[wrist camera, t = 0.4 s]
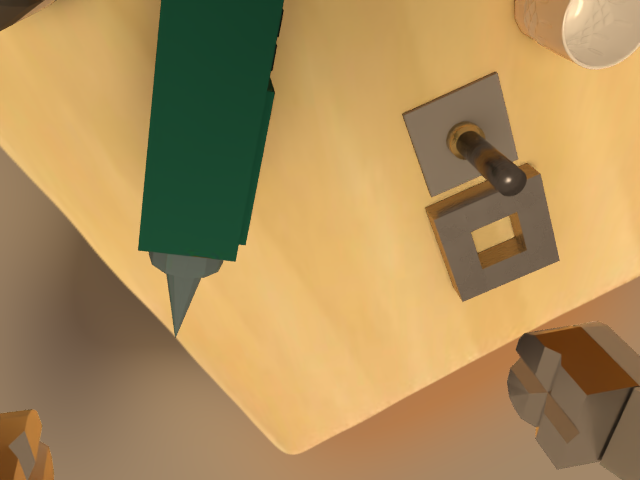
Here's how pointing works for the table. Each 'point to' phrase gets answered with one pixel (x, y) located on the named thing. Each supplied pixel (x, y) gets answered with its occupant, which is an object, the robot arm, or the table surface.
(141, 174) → the table surface
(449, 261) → the grey square frame
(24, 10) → the wine bottle
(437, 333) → the table surface
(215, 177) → the power tool
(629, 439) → the robot arm
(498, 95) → the grey square plate
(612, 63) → the white cup
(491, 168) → the dark grey peg
